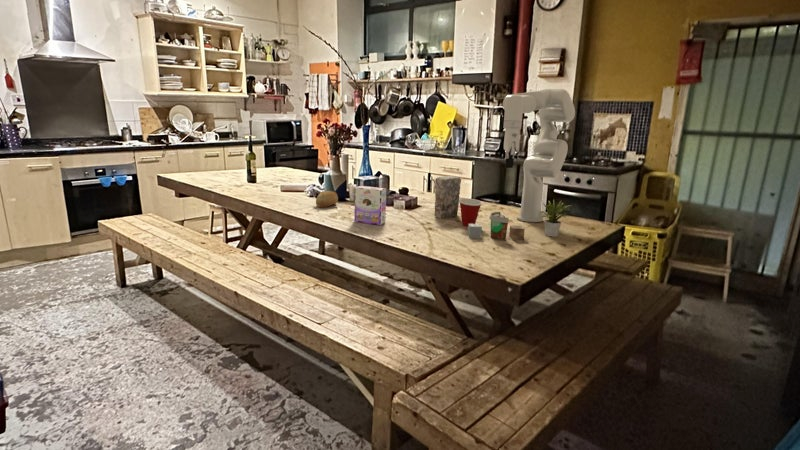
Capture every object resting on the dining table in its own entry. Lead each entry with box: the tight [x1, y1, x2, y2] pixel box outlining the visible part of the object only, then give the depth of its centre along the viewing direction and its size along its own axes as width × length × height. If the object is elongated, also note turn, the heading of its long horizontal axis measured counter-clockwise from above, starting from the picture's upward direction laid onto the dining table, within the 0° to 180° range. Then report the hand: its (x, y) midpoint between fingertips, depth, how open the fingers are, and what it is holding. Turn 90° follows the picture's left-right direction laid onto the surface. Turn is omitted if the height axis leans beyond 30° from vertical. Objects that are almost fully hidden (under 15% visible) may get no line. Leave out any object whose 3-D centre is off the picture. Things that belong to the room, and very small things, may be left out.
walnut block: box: [508, 224, 526, 241], centre depth 195 cm, size 5×5×5 cm
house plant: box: [540, 198, 573, 238], centre depth 200 cm, size 14×14×16 cm
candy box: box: [353, 185, 387, 226], centre depth 211 cm, size 14×6×16 cm, turn 65°
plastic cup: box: [459, 197, 483, 228], centre depth 212 cm, size 11×11×12 cm
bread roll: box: [315, 190, 339, 208], centre depth 244 cm, size 10×15×8 cm, turn 155°
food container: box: [489, 211, 510, 241], centre depth 195 cm, size 12×6×10 cm, turn 5°
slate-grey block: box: [467, 223, 483, 239], centre depth 195 cm, size 5×5×5 cm
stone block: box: [434, 175, 462, 220], centre depth 228 cm, size 13×7×20 cm, turn 137°
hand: (508, 167), depth 202 cm, fingers closed
